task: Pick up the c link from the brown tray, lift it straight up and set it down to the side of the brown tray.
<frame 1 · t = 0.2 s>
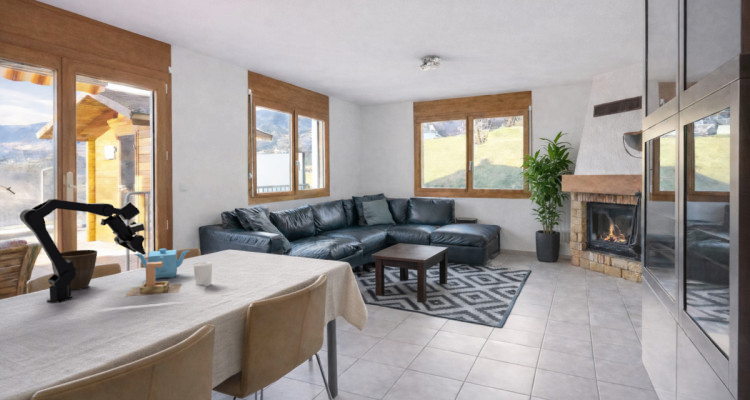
hand: (140, 253, 189), 15 cm above the table, tool tilted 35°, fingers open, 9 cm apart
brown tray: (155, 292, 177), on the table
plant pot: (78, 288, 184), on the table
white cup: (203, 285, 189), on the table
teakettle: (163, 278, 201), on the table
c link: (154, 289, 177), point 1 cm above the table, touching brown tray
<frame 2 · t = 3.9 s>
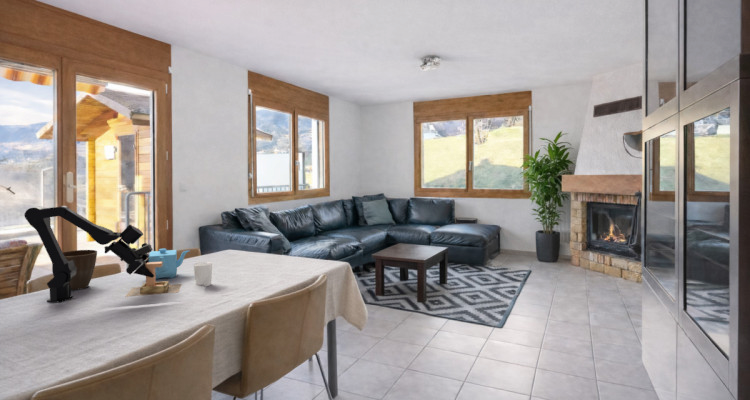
hand: (154, 275, 177), 7 cm above the table, tool tilted 45°, fingers closed on c link, 4 cm apart
c link: (154, 289, 177), point 1 cm above the table, touching gripper, brown tray
everything else where it was.
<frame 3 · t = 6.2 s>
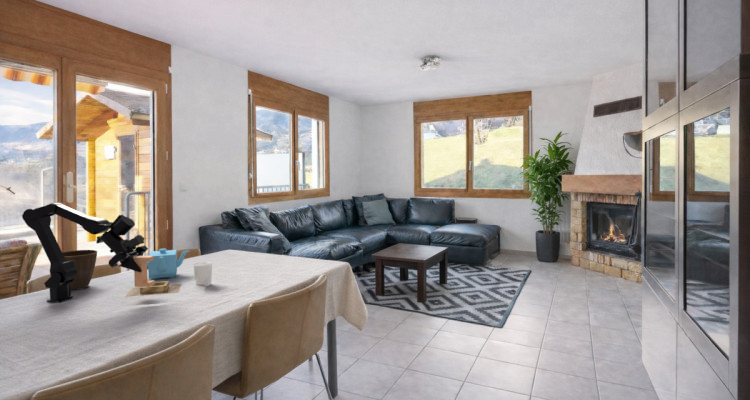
hand: (144, 270, 165), 12 cm above the table, tool tilted 45°, fingers closed on c link, 4 cm apart
c link: (144, 285, 166), point 6 cm above the table, touching gripper
everything else where it was.
when the fingers open (8 cm above the table, at t = 8.6 s): c link drops 1 cm, on the table.
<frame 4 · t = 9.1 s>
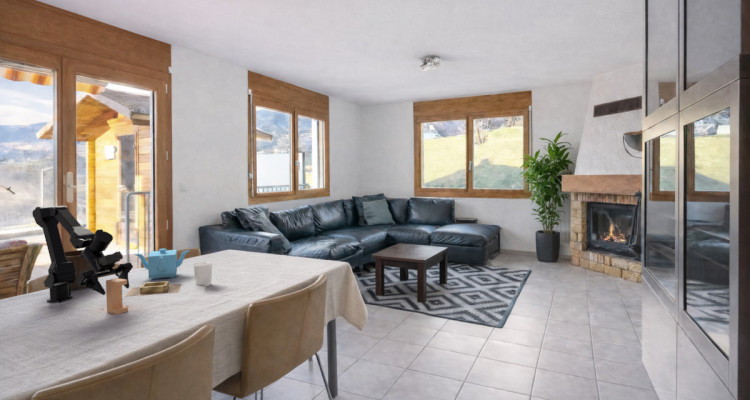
hand: (116, 290, 152), 8 cm above the table, tool tilted 45°, fingers open, 9 cm apart
c link: (117, 311, 152), on the table
everything else where it was.
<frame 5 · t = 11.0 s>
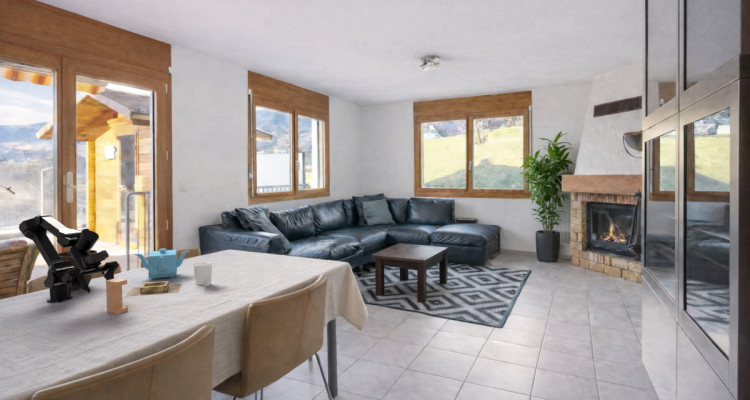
hand: (102, 288, 155), 8 cm above the table, tool tilted 45°, fingers open, 9 cm apart
nothing on the table moved.
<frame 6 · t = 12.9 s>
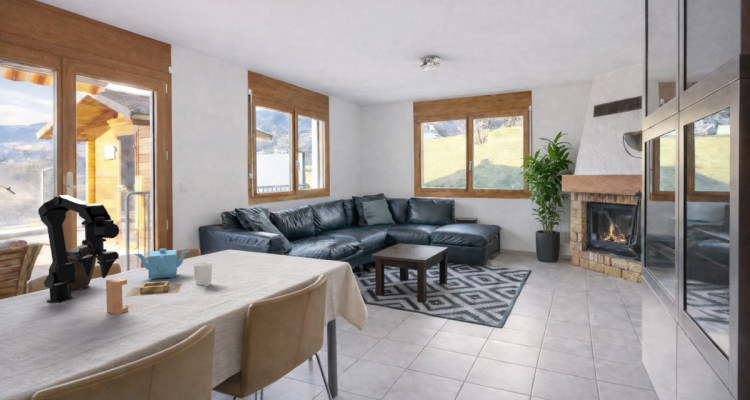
hand: (95, 276, 156), 12 cm above the table, tool pointing down, fingers open, 9 cm apart
nothing on the table moved.
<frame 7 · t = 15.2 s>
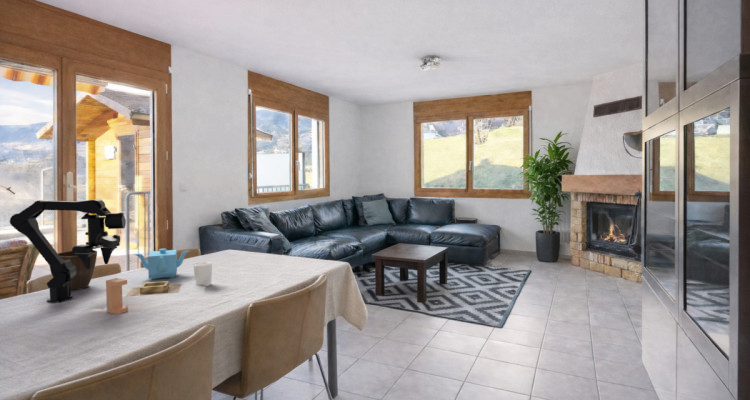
hand: (97, 266, 169), 13 cm above the table, tool pointing down, fingers open, 9 cm apart
nothing on the table moved.
at the end: c link inside the target area (0.5 cm from its centre), on the table; c link tilted 0°; c link touching table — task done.
